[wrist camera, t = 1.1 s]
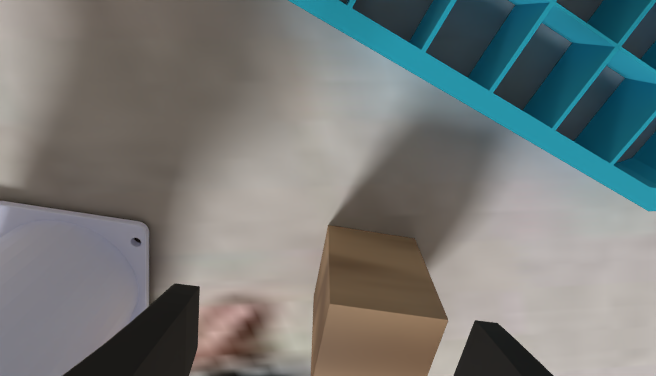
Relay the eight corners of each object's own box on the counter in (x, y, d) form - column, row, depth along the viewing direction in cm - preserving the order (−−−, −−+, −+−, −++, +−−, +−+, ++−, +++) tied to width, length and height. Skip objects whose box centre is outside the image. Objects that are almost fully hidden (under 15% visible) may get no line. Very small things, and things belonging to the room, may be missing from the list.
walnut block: (393, 307, 22) (416, 403, 16) (313, 296, 22) (310, 391, 16) (414, 238, 20) (448, 320, 15) (328, 224, 20) (329, 303, 14)
